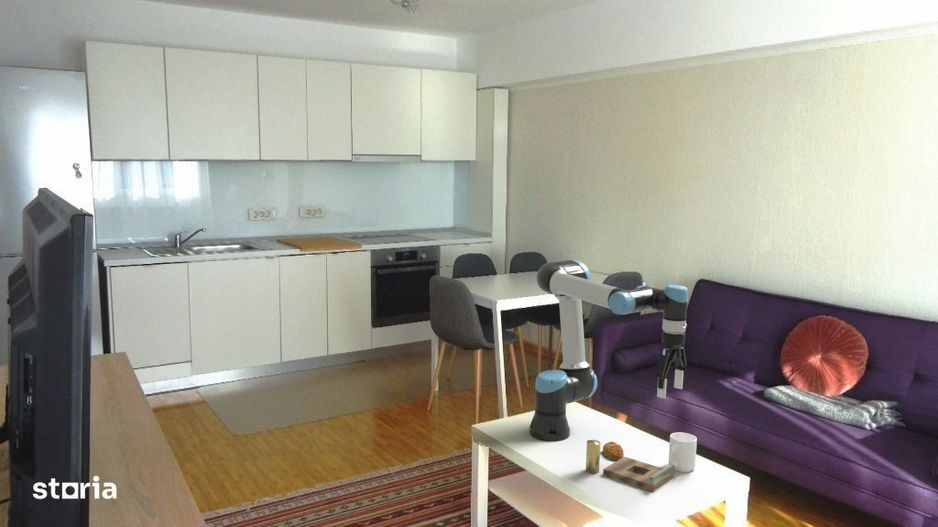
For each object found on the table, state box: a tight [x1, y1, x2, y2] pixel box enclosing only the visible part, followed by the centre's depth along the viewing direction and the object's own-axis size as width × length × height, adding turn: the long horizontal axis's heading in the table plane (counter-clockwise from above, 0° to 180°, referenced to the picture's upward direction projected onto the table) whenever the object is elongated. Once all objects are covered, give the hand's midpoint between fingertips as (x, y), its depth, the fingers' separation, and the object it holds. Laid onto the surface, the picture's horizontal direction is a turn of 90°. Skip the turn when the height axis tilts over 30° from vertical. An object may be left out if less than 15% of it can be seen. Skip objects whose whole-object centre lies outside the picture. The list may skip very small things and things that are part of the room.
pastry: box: [602, 441, 625, 461], centre depth 249 cm, size 9×7×4 cm
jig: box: [602, 456, 675, 492], centre depth 232 cm, size 18×14×4 cm
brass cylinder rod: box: [585, 439, 601, 475], centre depth 235 cm, size 4×4×10 cm
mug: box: [668, 431, 698, 473], centre depth 239 cm, size 9×12×11 cm
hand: (669, 392), depth 241 cm, fingers open, 13 cm apart
